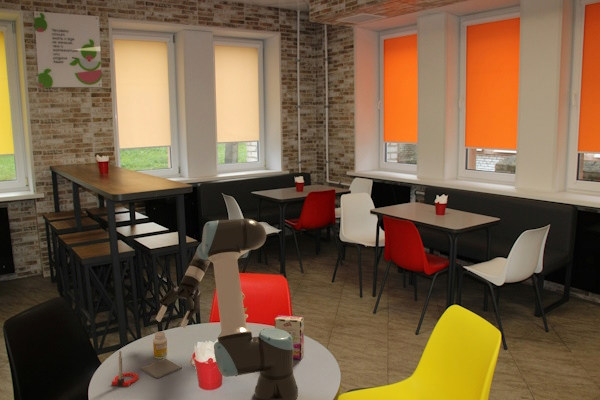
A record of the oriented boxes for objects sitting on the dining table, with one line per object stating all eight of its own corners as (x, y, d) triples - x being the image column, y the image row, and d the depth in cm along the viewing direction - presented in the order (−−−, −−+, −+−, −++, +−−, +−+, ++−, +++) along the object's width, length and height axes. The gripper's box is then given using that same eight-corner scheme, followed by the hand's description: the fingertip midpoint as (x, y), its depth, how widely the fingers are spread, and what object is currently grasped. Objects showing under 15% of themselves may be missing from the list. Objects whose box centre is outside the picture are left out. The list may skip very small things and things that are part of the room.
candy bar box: (304, 354, 223) (304, 316, 220) (301, 360, 218) (301, 321, 215) (277, 352, 226) (277, 314, 223) (274, 357, 221) (274, 318, 218)
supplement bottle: (155, 353, 224) (154, 330, 222) (168, 352, 224) (167, 330, 223) (152, 359, 219) (151, 336, 217) (166, 358, 219) (165, 336, 218)
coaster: (181, 368, 211) (181, 367, 211) (157, 378, 203) (156, 377, 203) (165, 359, 218) (165, 358, 218) (141, 369, 210) (141, 367, 210)
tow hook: (121, 374, 207) (109, 385, 198) (120, 342, 205) (108, 351, 196) (142, 376, 206) (130, 387, 197) (141, 343, 204) (130, 353, 195)
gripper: (219, 287, 234) (198, 333, 223) (174, 278, 245) (152, 321, 235) (211, 279, 228) (189, 325, 218) (166, 270, 240) (142, 314, 229)
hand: (170, 323), depth 226 cm, fingers open, 13 cm apart
